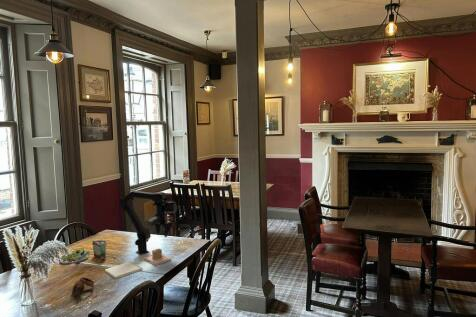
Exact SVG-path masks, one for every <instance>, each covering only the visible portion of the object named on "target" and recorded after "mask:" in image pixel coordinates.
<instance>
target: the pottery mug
mask: <svg viewBox="0 0 476 317" xmlns="http://www.w3.org/2000/svg"><path fill="white" fill-rule="evenodd" d="M94 284H95V282H94V280H92V279H89V278H87V277H80V278H79V279H78V280H76V282H75V283H74V285H73V287H72V292H71V294H72V296H74V297H77V295H78V296H80V295H82V294H83V292H84V290H85V286H86V287H91V292H93V291H94V288H95V285H94Z"/></svg>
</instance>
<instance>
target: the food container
mask: <svg viewBox="0 0 476 317" xmlns="http://www.w3.org/2000/svg"><path fill="white" fill-rule="evenodd" d="M91 244H92V250H93V258H95V257H96V259H97V258H98V259H97V260H99V259H100V260H99V261H102V260H105V259H106V258H107V257H106V256H107V254H106V253H107V251H106V250H107V246H108V244H107V241H105V240H102V239H101V240H93V241H92V242H91Z"/></svg>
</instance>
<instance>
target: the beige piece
mask: <svg viewBox="0 0 476 317" xmlns="http://www.w3.org/2000/svg"><path fill="white" fill-rule="evenodd" d="M162 250H163V249H161V248H155V249H153V250H151V254H150V255H148V256H144V257H143V260H144V261H146V262H148V263H150V264H152V265H154V266H158V265H161V264H164V263H167V262H170V261H172V258H171V257H169V256H167V255H164V254H163V251H162Z"/></svg>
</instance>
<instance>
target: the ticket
mask: <svg viewBox="0 0 476 317" xmlns="http://www.w3.org/2000/svg"><path fill="white" fill-rule="evenodd" d="M142 270H143V267H141V265H138V264H136V263H135V262H132V261H128V262H125V263H121V264H119V265H115V266H112V267H109V268H105V269H104V272H105V273H106V274H107V275H109V276H111V277H112V278H114V279H116V280H117V279H119V278H122V277H124V276H125V277H126V276H128V275H132V274H133V273H137V272H141V271H142Z"/></svg>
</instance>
